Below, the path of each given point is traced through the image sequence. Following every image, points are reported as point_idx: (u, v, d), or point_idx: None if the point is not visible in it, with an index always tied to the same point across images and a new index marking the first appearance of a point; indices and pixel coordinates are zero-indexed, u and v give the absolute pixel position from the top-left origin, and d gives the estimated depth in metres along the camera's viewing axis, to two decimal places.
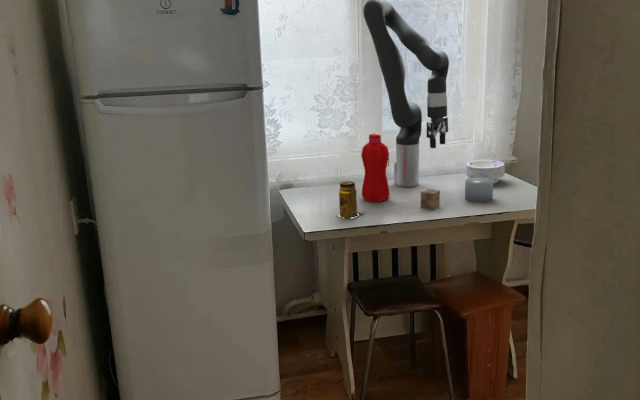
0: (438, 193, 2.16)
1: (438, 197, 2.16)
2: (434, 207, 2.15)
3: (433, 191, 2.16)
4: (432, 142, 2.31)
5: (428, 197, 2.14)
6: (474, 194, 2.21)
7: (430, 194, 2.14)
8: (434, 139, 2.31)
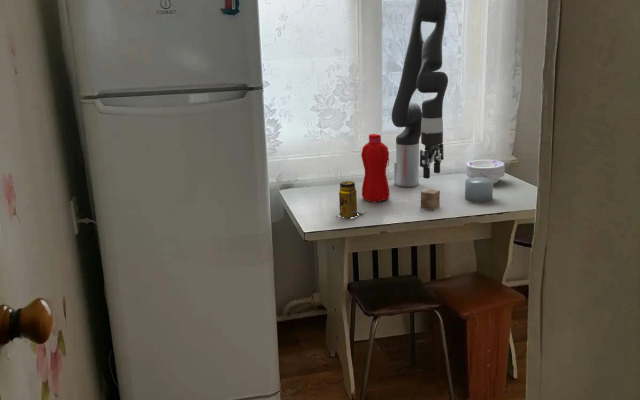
0: (438, 193, 2.16)
1: (438, 197, 2.16)
2: (434, 207, 2.15)
3: (433, 191, 2.16)
4: (426, 172, 2.09)
5: (428, 197, 2.14)
6: (474, 194, 2.21)
7: (430, 194, 2.14)
8: (428, 169, 2.09)
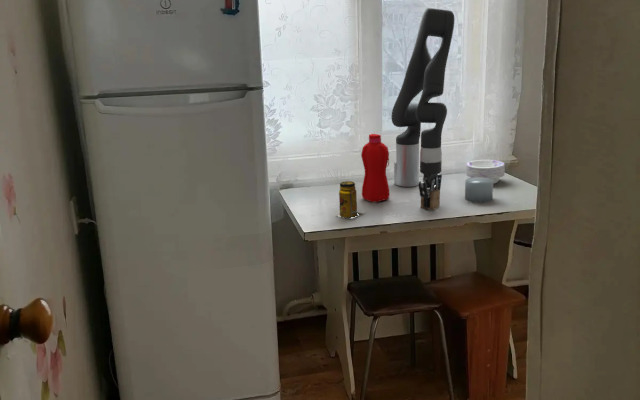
0: (438, 193, 2.16)
1: (438, 197, 2.16)
2: (434, 207, 2.15)
3: (433, 191, 2.16)
4: (426, 201, 2.14)
5: None
6: (474, 194, 2.21)
7: (430, 194, 2.14)
8: (428, 198, 2.14)
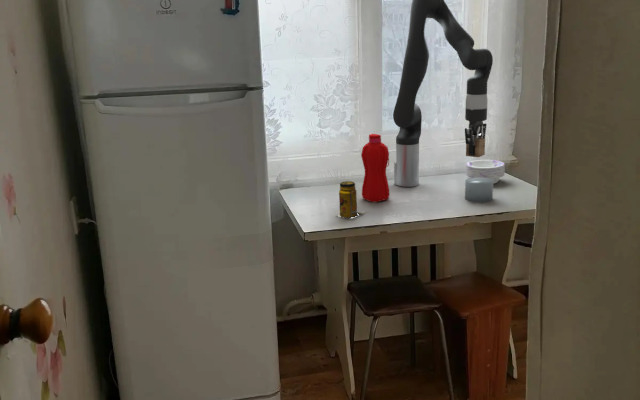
0: (483, 141, 2.17)
1: (483, 145, 2.18)
2: (480, 154, 2.16)
3: (479, 139, 2.17)
4: (471, 149, 2.16)
5: None
6: (474, 194, 2.21)
7: (476, 141, 2.15)
8: (473, 146, 2.15)
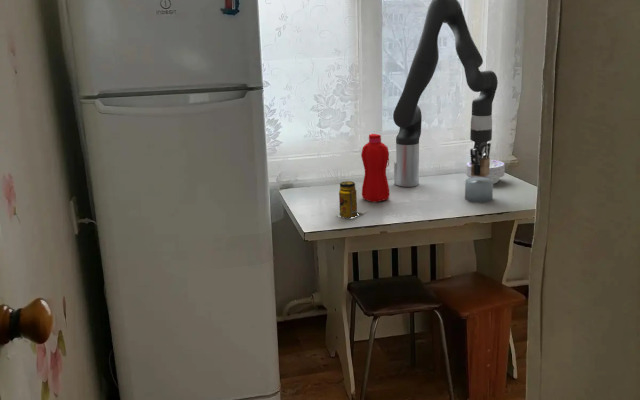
0: (488, 161, 2.21)
1: (488, 165, 2.21)
2: (485, 174, 2.20)
3: (484, 158, 2.21)
4: (476, 169, 2.19)
5: None
6: (474, 194, 2.21)
7: (481, 161, 2.18)
8: (479, 166, 2.19)
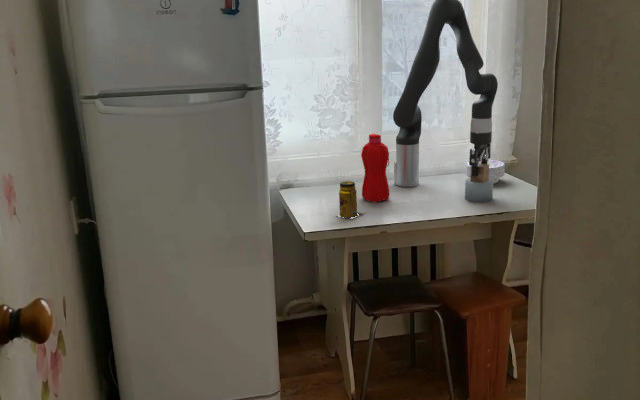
0: (488, 167, 2.22)
1: (487, 171, 2.22)
2: (484, 180, 2.20)
3: (483, 165, 2.21)
4: (475, 170, 2.18)
5: (478, 171, 2.20)
6: (474, 194, 2.21)
7: (480, 168, 2.19)
8: (477, 167, 2.18)
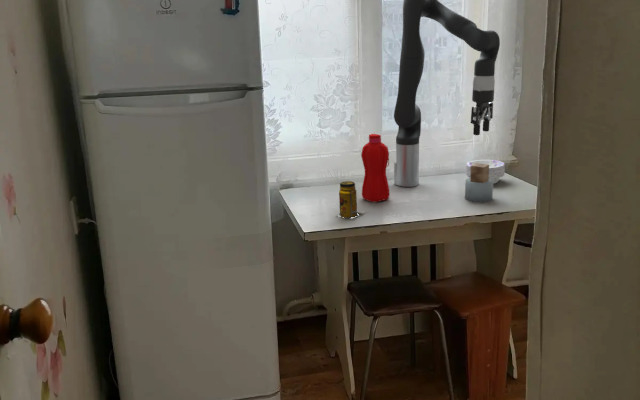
0: (487, 167, 2.22)
1: (487, 171, 2.22)
2: (484, 180, 2.20)
3: (483, 165, 2.21)
4: (476, 128, 2.16)
5: (478, 171, 2.20)
6: (474, 195, 2.21)
7: (480, 168, 2.19)
8: (478, 125, 2.16)
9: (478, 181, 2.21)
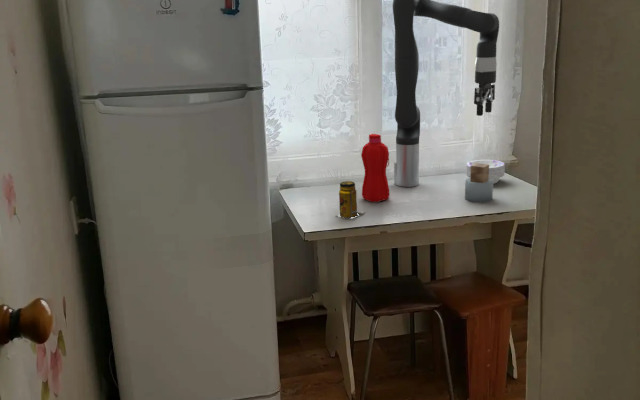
0: (487, 167, 2.22)
1: (487, 171, 2.22)
2: (484, 180, 2.20)
3: (483, 165, 2.21)
4: (479, 109, 2.21)
5: (478, 171, 2.20)
6: (474, 195, 2.21)
7: (480, 168, 2.19)
8: (481, 106, 2.21)
9: (478, 181, 2.21)
